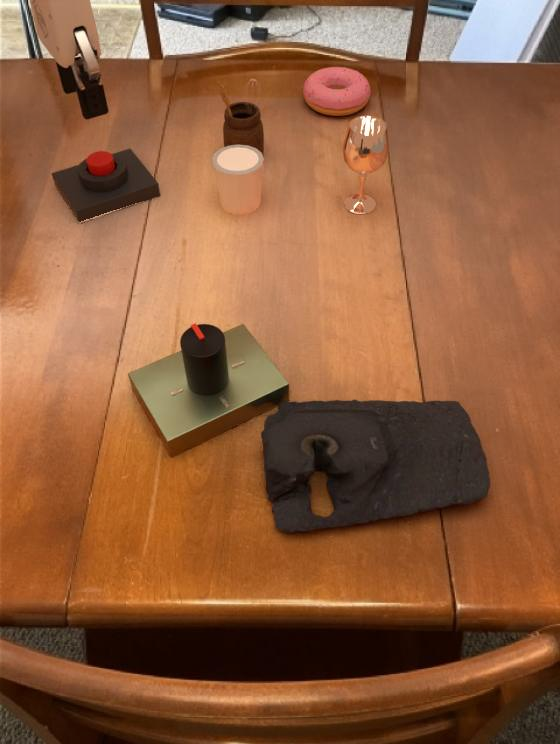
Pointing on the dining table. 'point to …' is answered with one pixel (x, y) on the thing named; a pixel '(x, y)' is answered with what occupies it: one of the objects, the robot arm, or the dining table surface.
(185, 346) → the dial
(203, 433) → the control panel
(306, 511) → the dark grey slotted slab
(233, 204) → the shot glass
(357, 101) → the doughnut
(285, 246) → the dining table surface
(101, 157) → the button
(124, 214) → the dining table surface
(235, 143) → the utensil holder
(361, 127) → the wineglass
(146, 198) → the button box
